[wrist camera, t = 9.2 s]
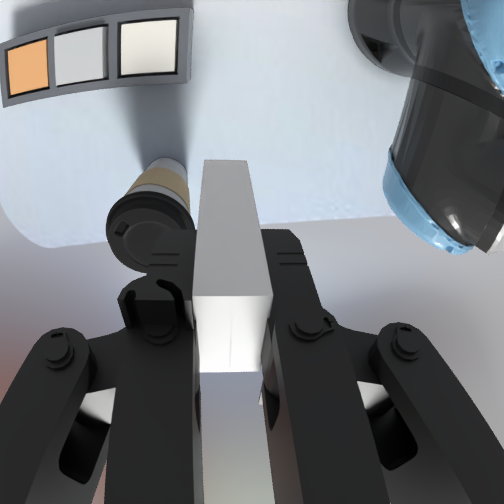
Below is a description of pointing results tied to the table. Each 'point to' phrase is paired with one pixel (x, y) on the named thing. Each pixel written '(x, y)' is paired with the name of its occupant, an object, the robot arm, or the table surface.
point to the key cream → (149, 47)
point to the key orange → (28, 67)
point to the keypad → (114, 55)
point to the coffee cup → (149, 212)
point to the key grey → (81, 55)
